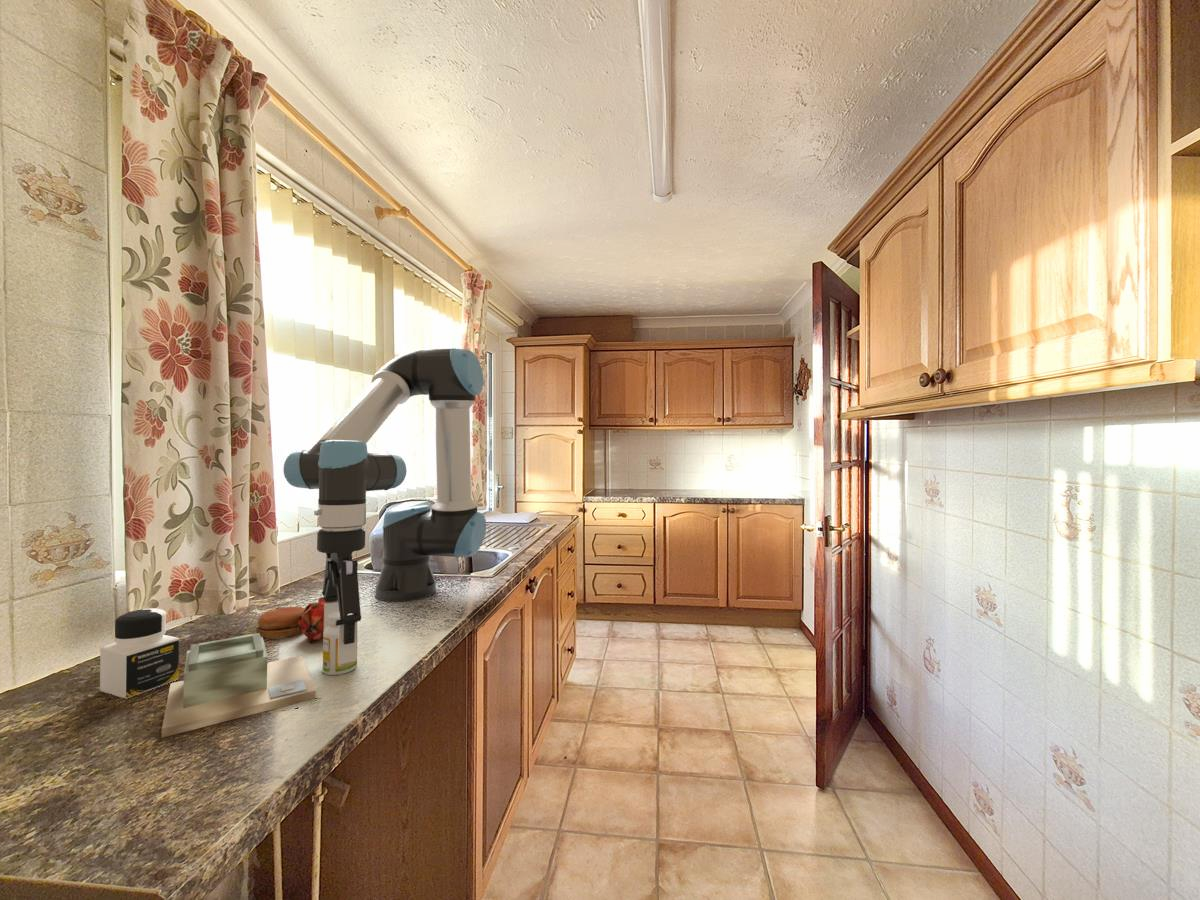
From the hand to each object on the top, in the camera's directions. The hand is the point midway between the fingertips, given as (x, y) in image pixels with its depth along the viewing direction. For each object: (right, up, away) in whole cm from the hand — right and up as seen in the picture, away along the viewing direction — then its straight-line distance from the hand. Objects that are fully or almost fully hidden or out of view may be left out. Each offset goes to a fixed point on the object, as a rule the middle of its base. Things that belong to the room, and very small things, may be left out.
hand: (339, 649), depth 87 cm
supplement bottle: (0, -4, 0) cm, 4 cm away
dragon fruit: (-11, -4, +15) cm, 19 cm away
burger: (-21, -4, +18) cm, 28 cm away
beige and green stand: (-10, -4, -9) cm, 14 cm away
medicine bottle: (-29, -4, -7) cm, 30 cm away
